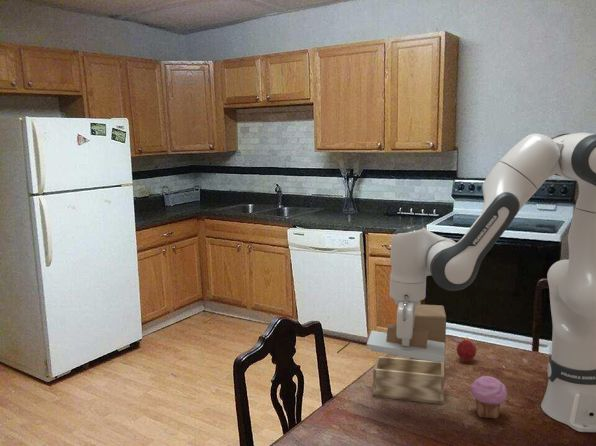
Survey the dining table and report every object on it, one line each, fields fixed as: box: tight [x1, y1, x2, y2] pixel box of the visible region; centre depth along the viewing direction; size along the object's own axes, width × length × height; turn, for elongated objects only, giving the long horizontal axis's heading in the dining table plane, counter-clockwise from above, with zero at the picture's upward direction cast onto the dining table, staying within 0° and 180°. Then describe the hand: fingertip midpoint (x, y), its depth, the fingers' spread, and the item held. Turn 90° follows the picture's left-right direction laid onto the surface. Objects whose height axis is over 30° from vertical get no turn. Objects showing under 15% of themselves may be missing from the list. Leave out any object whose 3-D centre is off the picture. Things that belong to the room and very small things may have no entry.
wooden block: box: [409, 304, 447, 379], centre depth 155 cm, size 10×10×20 cm
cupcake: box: [469, 375, 508, 420], centre depth 131 cm, size 9×9×10 cm
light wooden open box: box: [372, 355, 445, 405], centre depth 143 cm, size 19×9×8 cm, turn 74°
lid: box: [366, 323, 446, 363], centre depth 129 cm, size 19×9×6 cm, turn 75°
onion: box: [456, 336, 477, 362], centre depth 162 cm, size 6×6×8 cm
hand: (406, 342), depth 129 cm, fingers closed on lid, 2 cm apart
